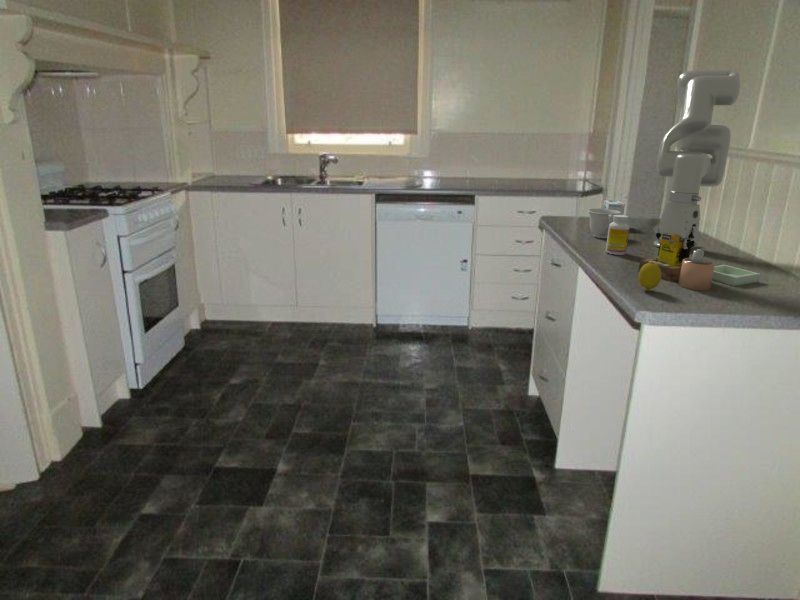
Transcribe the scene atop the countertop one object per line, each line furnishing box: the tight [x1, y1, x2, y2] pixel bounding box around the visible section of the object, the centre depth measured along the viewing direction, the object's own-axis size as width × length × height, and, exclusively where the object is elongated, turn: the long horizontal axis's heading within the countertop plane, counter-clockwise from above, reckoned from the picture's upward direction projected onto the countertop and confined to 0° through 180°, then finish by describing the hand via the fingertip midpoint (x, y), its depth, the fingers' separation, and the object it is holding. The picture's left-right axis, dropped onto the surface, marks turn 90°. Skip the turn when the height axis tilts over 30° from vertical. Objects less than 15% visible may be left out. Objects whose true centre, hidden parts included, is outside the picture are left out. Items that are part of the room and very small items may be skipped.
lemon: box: [637, 262, 662, 291], centre depth 151 cm, size 6×6×8 cm
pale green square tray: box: [712, 264, 761, 287], centre depth 165 cm, size 11×11×2 cm
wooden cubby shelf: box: [638, 257, 681, 282], centre depth 170 cm, size 14×11×4 cm
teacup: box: [587, 208, 621, 239], centre depth 218 cm, size 12×15×10 cm
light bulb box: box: [602, 199, 626, 215], centre depth 240 cm, size 11×7×11 cm, turn 172°
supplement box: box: [657, 233, 692, 267], centre depth 168 cm, size 6×6×11 cm
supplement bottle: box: [605, 214, 631, 256], centre depth 192 cm, size 7×7×13 cm
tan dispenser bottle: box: [678, 248, 716, 291], centre depth 156 cm, size 8×8×10 cm
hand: (672, 258), depth 169 cm, fingers open, 6 cm apart
